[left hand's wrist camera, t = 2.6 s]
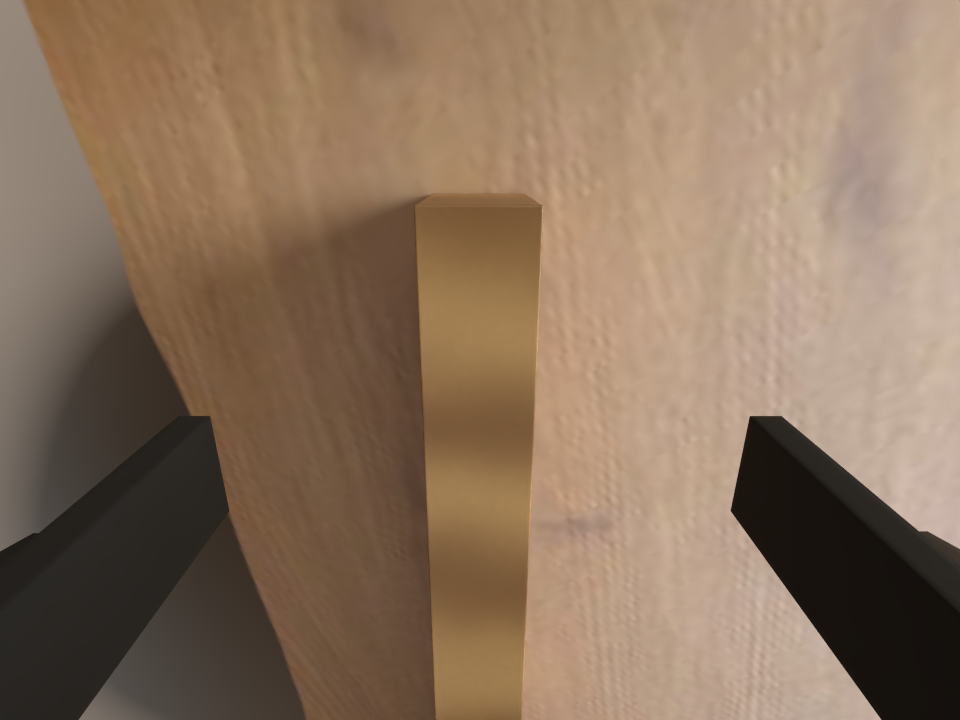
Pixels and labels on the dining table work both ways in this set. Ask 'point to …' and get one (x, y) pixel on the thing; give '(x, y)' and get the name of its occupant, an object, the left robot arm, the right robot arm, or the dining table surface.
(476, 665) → the post
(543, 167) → the dining table surface
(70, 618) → the left robot arm
